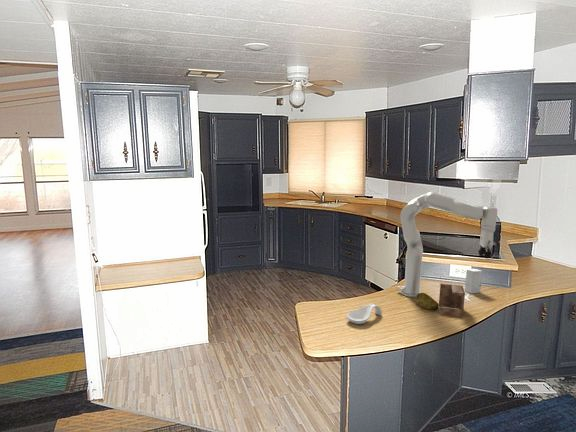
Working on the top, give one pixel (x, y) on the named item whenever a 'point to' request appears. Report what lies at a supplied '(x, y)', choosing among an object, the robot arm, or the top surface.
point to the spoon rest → (363, 314)
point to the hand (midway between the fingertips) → (485, 256)
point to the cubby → (451, 299)
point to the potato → (427, 301)
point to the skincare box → (473, 281)
